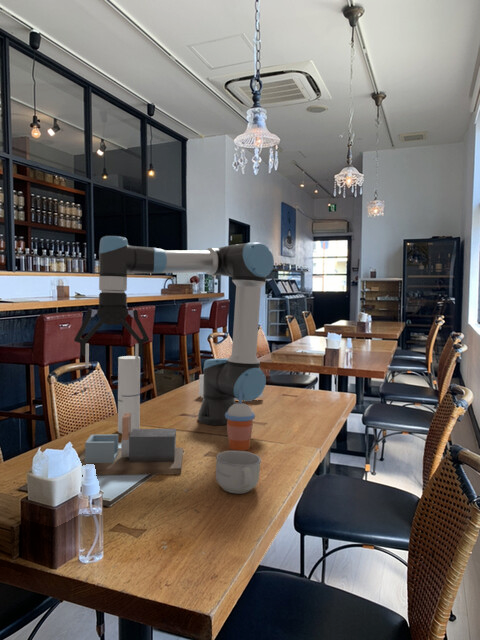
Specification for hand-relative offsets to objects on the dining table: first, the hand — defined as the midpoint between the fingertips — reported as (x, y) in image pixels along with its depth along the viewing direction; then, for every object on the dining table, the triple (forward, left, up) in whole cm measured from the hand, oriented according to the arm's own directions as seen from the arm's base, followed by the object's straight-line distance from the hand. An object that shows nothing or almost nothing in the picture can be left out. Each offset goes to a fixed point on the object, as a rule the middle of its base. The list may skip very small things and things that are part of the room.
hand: (112, 366), depth 130 cm
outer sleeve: (-12, +6, -24) cm, 28 cm away
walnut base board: (-6, +6, -26) cm, 27 cm away
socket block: (+2, +6, -24) cm, 25 cm away
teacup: (-34, +25, -26) cm, 50 cm away
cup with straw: (-37, -6, -26) cm, 46 cm away
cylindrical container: (-1, -24, -26) cm, 35 cm away
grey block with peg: (-11, +6, -23) cm, 26 cm away
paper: (-39, -72, -26) cm, 86 cm away
